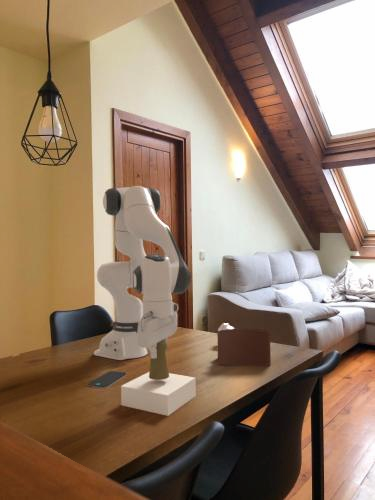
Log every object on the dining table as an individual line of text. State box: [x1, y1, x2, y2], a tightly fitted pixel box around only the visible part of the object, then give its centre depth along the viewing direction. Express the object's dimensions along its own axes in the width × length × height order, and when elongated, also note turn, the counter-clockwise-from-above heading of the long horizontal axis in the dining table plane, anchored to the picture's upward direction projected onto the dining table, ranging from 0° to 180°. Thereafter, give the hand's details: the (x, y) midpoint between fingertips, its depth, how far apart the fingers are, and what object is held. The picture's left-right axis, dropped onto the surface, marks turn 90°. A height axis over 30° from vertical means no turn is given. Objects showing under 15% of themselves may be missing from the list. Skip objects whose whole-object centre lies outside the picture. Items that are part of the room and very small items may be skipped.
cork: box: [148, 340, 170, 380], centre depth 123 cm, size 6×6×11 cm
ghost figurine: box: [216, 322, 235, 339], centre depth 184 cm, size 9×10×10 cm
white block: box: [120, 371, 197, 417], centre depth 123 cm, size 16×16×6 cm
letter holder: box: [217, 327, 272, 366], centre depth 160 cm, size 10×20×14 cm, turn 86°
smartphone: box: [87, 370, 127, 389], centre depth 142 cm, size 8×1×15 cm
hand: (158, 355), depth 123 cm, fingers closed on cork, 4 cm apart
